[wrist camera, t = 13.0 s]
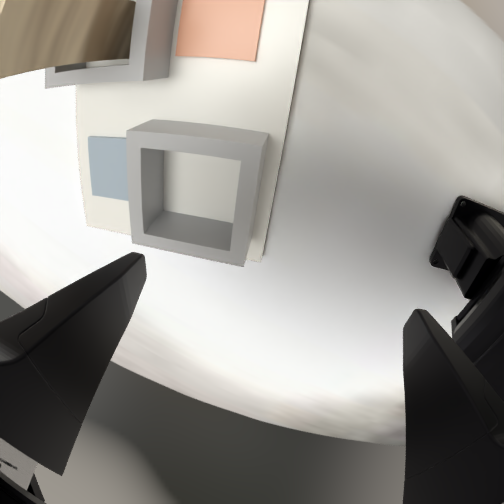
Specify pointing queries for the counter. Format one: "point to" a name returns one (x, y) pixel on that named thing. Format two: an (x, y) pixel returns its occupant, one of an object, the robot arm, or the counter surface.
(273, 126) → the socket panel
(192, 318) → the counter surface
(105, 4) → the plug
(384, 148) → the counter surface
